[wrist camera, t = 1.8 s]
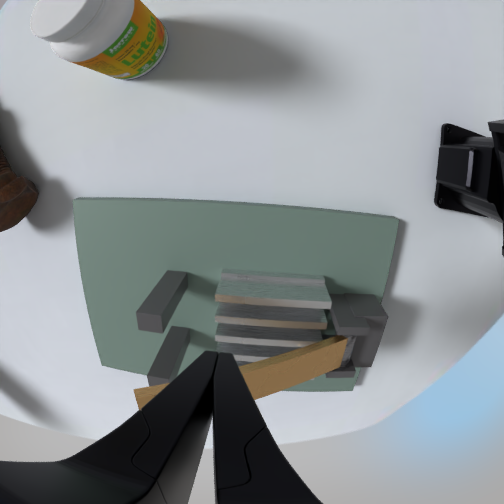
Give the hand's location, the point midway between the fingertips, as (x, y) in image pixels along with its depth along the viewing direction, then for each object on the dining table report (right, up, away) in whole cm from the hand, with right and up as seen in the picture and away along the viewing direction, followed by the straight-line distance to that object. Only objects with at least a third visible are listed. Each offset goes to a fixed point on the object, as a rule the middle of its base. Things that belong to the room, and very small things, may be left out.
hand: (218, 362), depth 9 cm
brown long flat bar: (+1, -3, +7) cm, 8 cm away
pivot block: (+7, -2, +13) cm, 15 cm away
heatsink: (+2, -1, +13) cm, 13 cm away
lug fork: (-4, -1, +13) cm, 14 cm away
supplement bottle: (-7, +18, +8) cm, 21 cm away
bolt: (-23, +13, +11) cm, 29 cm away
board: (-1, -1, +14) cm, 14 cm away
